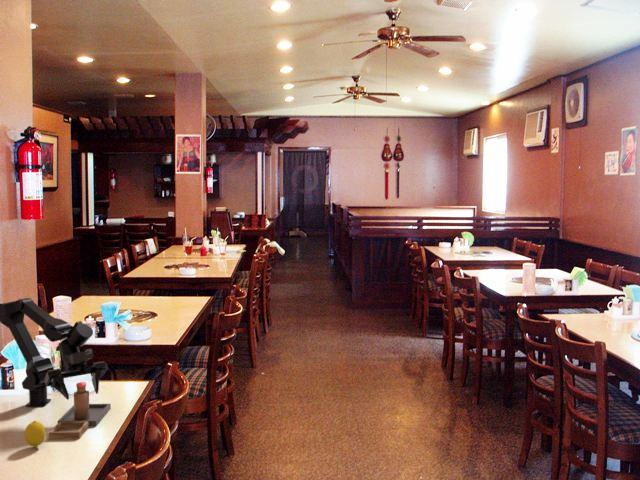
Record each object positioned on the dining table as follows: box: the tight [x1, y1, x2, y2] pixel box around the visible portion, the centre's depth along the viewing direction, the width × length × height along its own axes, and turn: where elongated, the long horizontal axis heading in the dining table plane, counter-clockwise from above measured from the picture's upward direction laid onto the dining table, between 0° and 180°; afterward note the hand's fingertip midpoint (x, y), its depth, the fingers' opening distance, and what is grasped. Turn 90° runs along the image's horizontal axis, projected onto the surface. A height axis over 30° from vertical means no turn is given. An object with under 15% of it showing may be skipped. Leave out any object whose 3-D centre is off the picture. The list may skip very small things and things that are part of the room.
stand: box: [48, 421, 90, 440], centre depth 192 cm, size 9×9×2 cm
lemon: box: [24, 420, 46, 449], centre depth 181 cm, size 6×6×8 cm
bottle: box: [73, 381, 90, 420], centre depth 202 cm, size 5×5×12 cm
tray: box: [57, 403, 112, 427], centre depth 205 cm, size 16×12×2 cm
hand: (83, 396), depth 201 cm, fingers open, 9 cm apart
